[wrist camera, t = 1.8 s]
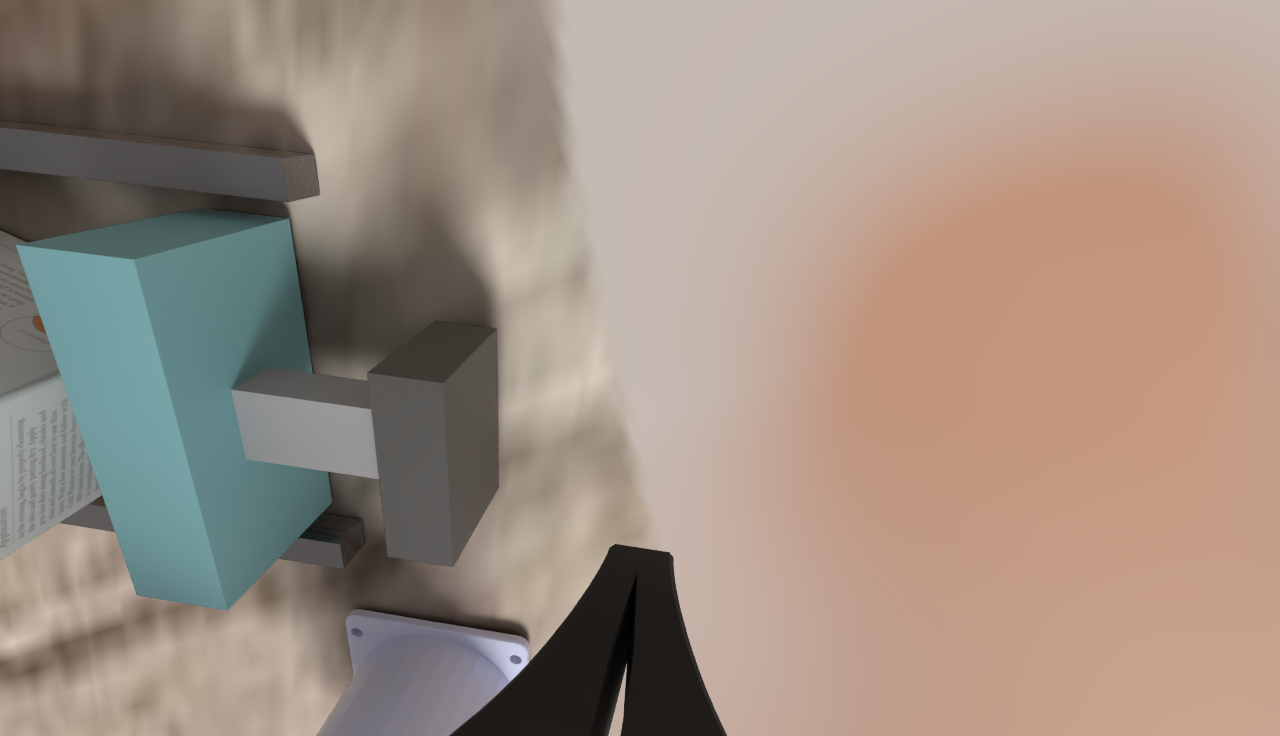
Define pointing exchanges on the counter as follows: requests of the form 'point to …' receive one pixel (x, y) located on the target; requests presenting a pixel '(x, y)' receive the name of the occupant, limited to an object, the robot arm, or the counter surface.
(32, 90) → the counter surface
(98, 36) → the counter surface
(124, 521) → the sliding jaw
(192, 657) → the counter surface
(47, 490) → the small box
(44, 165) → the vise
